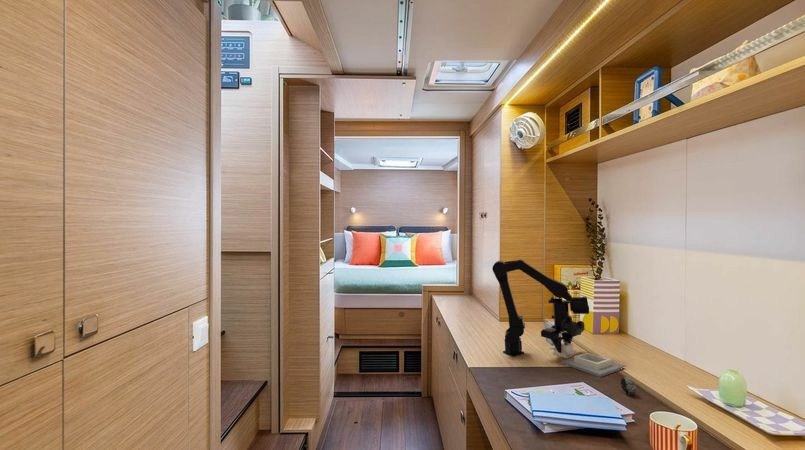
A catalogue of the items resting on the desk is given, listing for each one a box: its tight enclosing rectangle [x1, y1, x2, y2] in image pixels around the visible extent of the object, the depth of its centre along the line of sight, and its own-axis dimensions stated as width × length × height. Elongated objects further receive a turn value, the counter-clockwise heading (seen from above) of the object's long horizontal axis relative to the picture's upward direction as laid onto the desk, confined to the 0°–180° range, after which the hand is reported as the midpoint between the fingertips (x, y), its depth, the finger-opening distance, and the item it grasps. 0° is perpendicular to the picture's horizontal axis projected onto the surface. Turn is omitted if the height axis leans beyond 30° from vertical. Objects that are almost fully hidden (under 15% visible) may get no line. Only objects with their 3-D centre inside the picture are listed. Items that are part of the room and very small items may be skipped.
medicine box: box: [544, 321, 555, 346], centre depth 173 cm, size 8×4×9 cm, turn 179°
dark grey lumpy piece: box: [620, 376, 638, 396], centre depth 120 cm, size 3×5×5 cm
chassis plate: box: [561, 352, 626, 378], centre depth 143 cm, size 14×16×3 cm
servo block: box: [549, 340, 578, 360], centre depth 156 cm, size 4×10×6 cm, turn 27°
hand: (563, 351), depth 156 cm, fingers closed on servo block, 4 cm apart
